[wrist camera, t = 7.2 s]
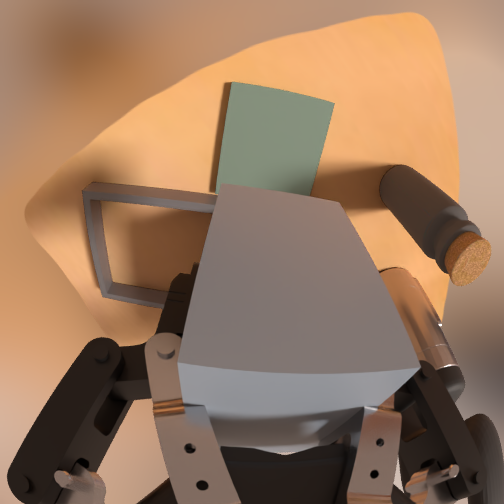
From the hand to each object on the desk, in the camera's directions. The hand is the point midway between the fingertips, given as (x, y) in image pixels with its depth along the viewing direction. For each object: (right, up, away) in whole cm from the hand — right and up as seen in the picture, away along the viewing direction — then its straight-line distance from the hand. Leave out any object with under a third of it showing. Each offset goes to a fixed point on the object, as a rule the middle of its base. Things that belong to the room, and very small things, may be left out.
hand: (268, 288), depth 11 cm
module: (0, +1, +2) cm, 2 cm away
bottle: (+17, +9, +17) cm, 26 cm away
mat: (+1, +12, +15) cm, 19 cm away
